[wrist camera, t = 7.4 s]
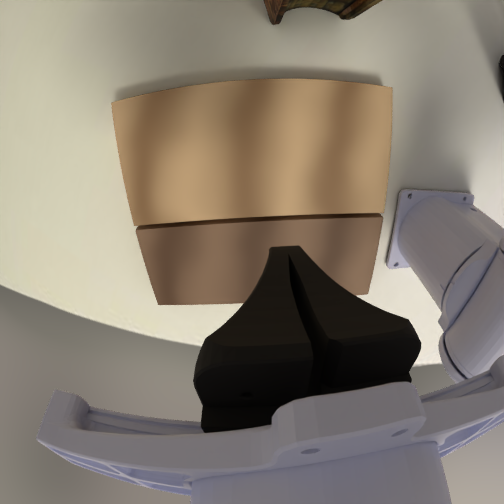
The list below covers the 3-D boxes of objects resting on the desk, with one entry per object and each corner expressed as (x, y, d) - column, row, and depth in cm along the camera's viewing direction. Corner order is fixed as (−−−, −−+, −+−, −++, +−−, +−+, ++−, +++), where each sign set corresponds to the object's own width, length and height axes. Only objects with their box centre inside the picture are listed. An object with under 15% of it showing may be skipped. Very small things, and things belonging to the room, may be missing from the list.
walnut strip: (375, 209, 22) (383, 217, 21) (362, 283, 26) (367, 294, 25) (141, 221, 23) (135, 230, 21) (162, 294, 27) (158, 304, 25)
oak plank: (383, 87, 17) (392, 87, 15) (376, 205, 22) (383, 212, 20) (119, 101, 17) (111, 102, 16) (140, 218, 22) (134, 225, 21)
